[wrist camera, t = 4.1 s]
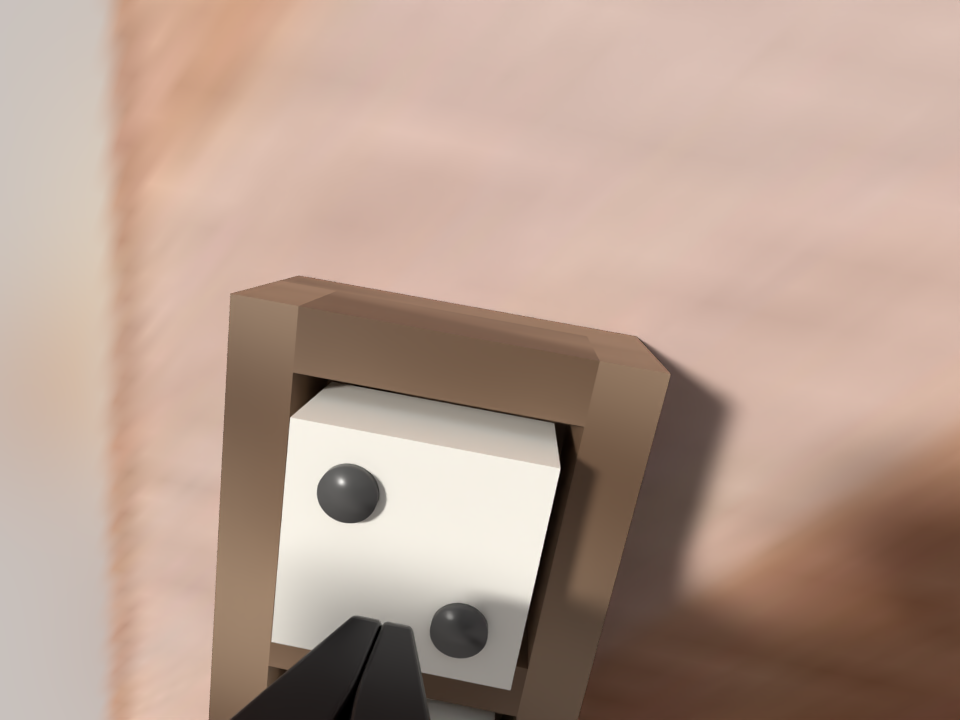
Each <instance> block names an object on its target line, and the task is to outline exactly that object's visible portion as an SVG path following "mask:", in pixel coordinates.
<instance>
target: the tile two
mask: <svg viewBox="0 0 960 720" xmlns="http://www.w3.org/2000/svg"><path fill="white" fill-rule="evenodd" d="M560 469H561V468H560V461H559V454H558V447H557V440H556V433H555V425H554V423H551V422H545V421H540V420H534V419H529V418H524V417H518V416H513V415H508V414H502V413H497V412H492V411H486V410H481V409H476V408H470V407H465V406H459V405H454V404H449V403H443V402H438V401H433V400H427V399H422V398H417V397H411V396H406V395H401V394H395V393H390V392H384V391H379V390H374V389H368V388H363V387H358V386H352V385H347V384H342V383H336V382H331V383H330V384H329V385H327V386H326V387H325V388H324V389H323V390H322V391H320V392H319V393H318V394H317V395H316V396H315V397H313V398H312V399H311V400H310V401H309V402H308V403H306V404H305V405H304V406H303V407H302V408H301V409H299V410H298V411H297V412H296V413H295V414H294V415H292V416H291V417H290V426H289V438H288V450H287V462H286V474H285V485H284V497H283V509H282V521H281V533H280V545H279V557H278V569H277V581H276V592H275V604H274V616H273V628H272V640H271V642H274V643H279V644H284V645H289V646H294V647H299V648H304V649H309V650H312V649H313V648H315V647H316V646H317V645H318V644H319V643H320V642H322V641H323V640H324V639H325V638H326V637H328V636H329V635H330V634H331V633H332V632H334V631H335V630H336V629H337V628H338V627H339V626H341V625H342V624H343V623H344V622H345V621H347V620H348V619H349V618H350V617H352V616H354V615H359V616H364V617H369V618H374V619H378V620H380V621H381V624H382V625H383V623H384V622H387V621H389V622H394V623H399V624H404V625H408V626H410V627H411V628H412V629H413V632H414V637H415V642H416V647H417V652H418V658H419V663H420V668H421V672H422V673H427V674H432V675H437V676H442V677H447V678H452V679H457V680H462V681H466V682H471V683H476V684H481V685H486V686H491V687H496V688H501V689H506V690H511V686H512V681H513V677H514V672H515V668H516V664H517V659H518V655H519V650H520V646H521V641H522V637H523V633H524V628H525V624H526V619H527V615H528V610H529V606H530V602H531V597H532V593H533V588H534V584H535V580H536V575H537V571H538V566H539V562H540V557H541V553H542V549H543V544H544V540H545V535H546V531H547V526H548V522H549V518H550V513H551V509H552V504H553V500H554V495H555V491H556V487H557V482H558V478H559V473H560Z"/></svg>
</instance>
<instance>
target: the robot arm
mask: <svg viewBox="0 0 960 720" xmlns="http://www.w3.org/2000/svg"><path fill="white" fill-rule="evenodd" d="M229 720H431V719H430V714H429V709H428V704H427V699H426V693H425V688H424V683H423V678H422V673H421V668H420V663H419V658H418V652H417V647H416V642H415V637H414V632H413V629H412V628H411V627H410V626H408V625H404V624H399V623H394V622H389V621H387V622H384V623H383V625H382V624H381V621H380V620H378V619H374V618H369V617H364V616H359V615H354V616H352V617H350V618H349V619H348V620H347V621H345V622H344V623H343V624H342V625H341V626H339V627H338V628H337V629H336V630H335V631H334V632H332V633H331V634H330V635H329V636H328V637H326V638H325V639H324V640H323V641H322V642H320V643H319V644H318V645H317V646H316V647H315V648H313V649H312V650H311V651H310V652H309V653H307V654H306V655H305V656H304V657H303V658H301V659H300V660H299V661H298V662H297V663H296V664H294V665H293V666H292V667H291V668H290V669H288V670H287V671H286V672H285V673H284V674H282V675H281V676H280V677H279V678H278V679H277V680H275V681H274V682H273V683H272V684H271V685H269V686H268V687H267V688H266V689H265V690H263V691H262V692H261V693H260V694H259V695H258V696H256V697H255V698H254V699H253V700H252V701H250V702H249V703H248V704H247V705H246V706H244V707H243V708H242V709H241V710H240V711H239V712H237V713H236V714H235V715H234V716H233V717H231V718H230V719H229Z"/></svg>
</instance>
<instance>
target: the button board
mask: <svg viewBox="0 0 960 720" xmlns="http://www.w3.org/2000/svg"><path fill="white" fill-rule="evenodd" d="M670 376H671V374H670V372H669V371H668V370H667V369H666V368H665V367H664V366H663V365H662V364H661V363H660V362H659V361H658V359H657V358H656V357H655V356H654V355H653V354H652V353H651V352H650V351H649V350H648V349H647V348H646V346H645V345H644V344H643V343H642V342H641V341H640V340H639V339H638V338H637V337H636V336H631V335H625V334H620V333H614V332H608V331H603V330H597V329H592V328H586V327H581V326H575V325H570V324H564V323H559V322H553V321H548V320H542V319H536V318H531V317H525V316H520V315H514V314H509V313H503V312H498V311H492V310H487V309H481V308H476V307H470V306H465V305H459V304H453V303H448V302H442V301H437V300H431V299H426V298H420V297H415V296H409V295H404V294H398V293H393V292H387V291H381V290H376V289H370V288H365V287H359V286H354V285H348V284H343V283H337V282H332V281H326V280H321V279H315V278H309V277H304V276H296V277H292V278H288V279H284V280H280V281H277V282H273V283H269V284H265V285H262V286H258V287H254V288H250V289H246V290H243V291H239V292H235V293H231V294H230V314H229V334H228V353H227V373H226V393H225V412H224V432H223V452H222V471H221V491H220V510H219V530H218V550H217V569H216V589H215V609H214V628H213V648H212V667H211V687H210V707H209V720H229V719H230V718H231V717H233V716H234V715H235V714H236V713H237V712H239V711H240V710H241V709H242V708H243V707H244V706H246V705H247V704H248V703H249V702H250V701H252V700H253V699H254V698H255V697H256V696H258V695H259V694H260V693H261V692H262V691H263V690H265V689H266V688H267V687H268V686H269V685H271V684H272V683H273V682H274V681H275V680H277V679H278V678H279V677H280V676H281V675H282V674H284V673H285V672H286V671H287V670H288V669H290V668H291V667H292V666H293V665H294V664H296V663H297V662H298V661H299V660H300V659H301V658H303V657H304V656H305V655H306V654H307V653H309V652H310V651H311V650H309V649H304V648H299V647H294V646H289V645H284V644H279V643H274V642H271V640H272V628H273V616H274V604H275V592H276V581H277V569H278V557H279V545H280V533H281V521H282V509H283V497H284V485H285V474H286V462H287V450H288V438H289V426H290V417H291V416H292V415H294V414H295V413H296V412H297V411H298V410H299V409H301V408H302V407H303V406H304V405H305V404H306V403H308V402H309V401H310V400H311V399H312V398H313V397H315V396H316V395H317V394H318V393H319V392H320V391H322V390H323V389H324V388H325V387H326V386H327V385H329V384H330V383H331V382H336V383H342V384H347V385H352V386H358V387H363V388H368V389H374V390H379V391H384V392H390V393H395V394H401V395H406V396H411V397H417V398H422V399H427V400H433V401H438V402H443V403H449V404H454V405H459V406H465V407H470V408H476V409H481V410H486V411H492V412H497V413H502V414H508V415H513V416H518V417H524V418H529V419H534V420H540V421H545V422H551V423H554V425H555V433H556V440H557V447H558V454H559V461H560V468H561V469H560V473H559V478H558V482H557V487H556V491H555V495H554V500H553V504H552V509H551V513H550V518H549V522H548V526H547V531H546V535H545V540H544V544H543V549H542V553H541V557H540V562H539V566H538V571H537V575H536V580H535V584H534V588H533V593H532V597H531V602H530V606H529V610H528V615H527V619H526V624H525V628H524V633H523V637H522V641H521V646H520V650H519V655H518V659H517V664H516V668H515V672H514V677H513V681H512V686H511V690H506V689H501V688H496V687H491V686H486V685H481V684H476V683H471V682H466V681H462V680H457V679H452V678H447V677H442V676H437V675H432V674H427V673H422V672H421V673H422V678H423V683H424V688H425V693H426V698H428V699H433V700H438V701H442V702H447V703H452V704H457V705H462V706H467V707H472V708H477V709H482V710H486V711H491V712H495V720H578V717H579V713H580V709H581V705H582V702H583V698H584V694H585V691H586V687H587V683H588V680H589V676H590V672H591V668H592V665H593V661H594V657H595V654H596V650H597V646H598V642H599V639H600V635H601V631H602V628H603V624H604V620H605V617H606V613H607V609H608V605H609V602H610V598H611V594H612V591H613V587H614V583H615V579H616V576H617V572H618V568H619V565H620V561H621V557H622V554H623V550H624V546H625V542H626V539H627V535H628V531H629V528H630V524H631V520H632V516H633V513H634V509H635V505H636V502H637V498H638V494H639V491H640V487H641V483H642V479H643V476H644V472H645V468H646V465H647V461H648V457H649V454H650V450H651V446H652V442H653V439H654V435H655V431H656V428H657V424H658V420H659V416H660V413H661V409H662V405H663V402H664V398H665V394H666V391H667V387H668V383H669V379H670Z"/></svg>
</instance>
